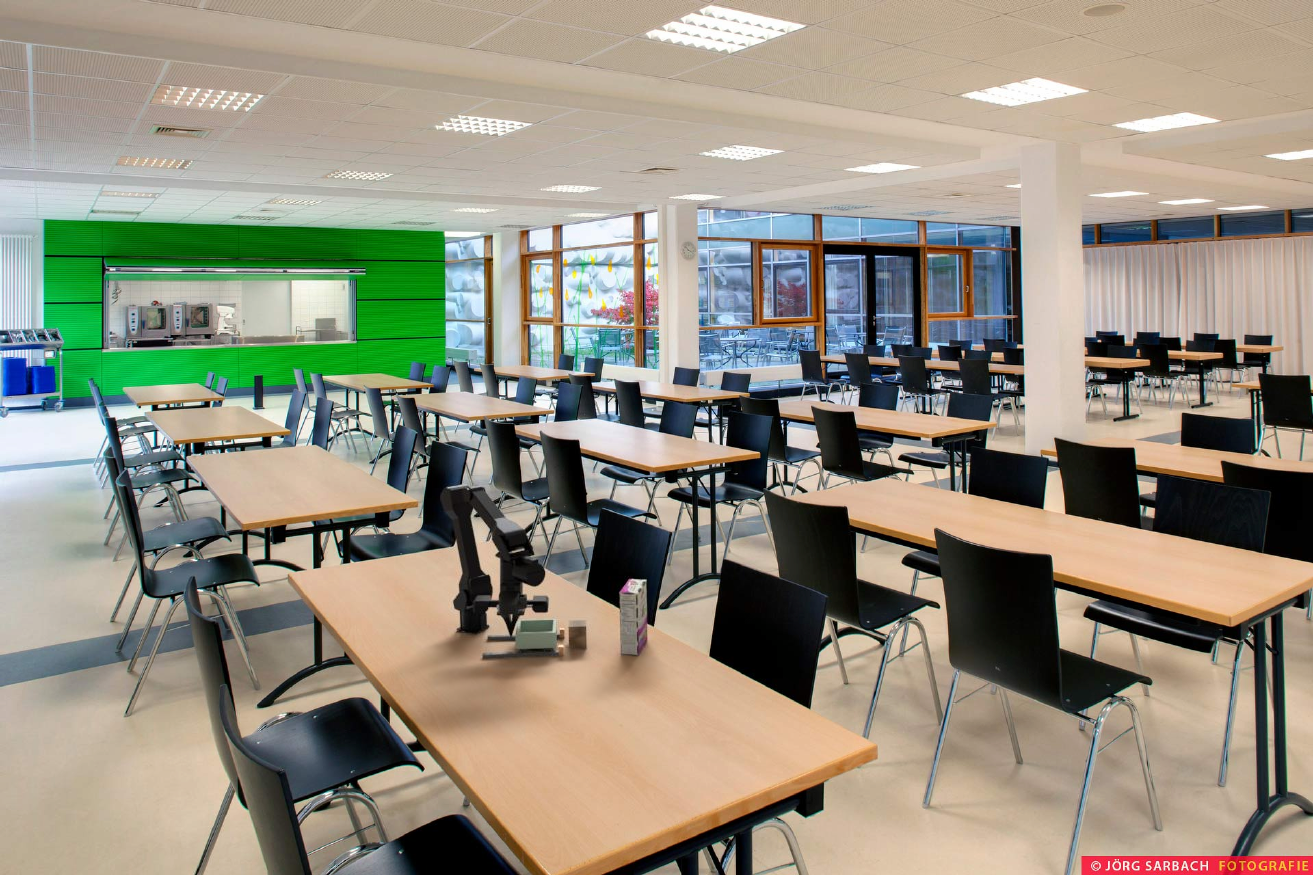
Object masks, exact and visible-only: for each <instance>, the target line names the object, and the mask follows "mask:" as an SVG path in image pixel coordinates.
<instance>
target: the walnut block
mask: <svg viewBox="0 0 1313 875" xmlns="http://www.w3.org/2000/svg"><path fill="white" fill-rule="evenodd" d="M587 641H588V640H587V619H580V620H579V619H578V620H575V619H574V620H568V650H587V648H588V647H587V645H588V644H587Z"/></svg>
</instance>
